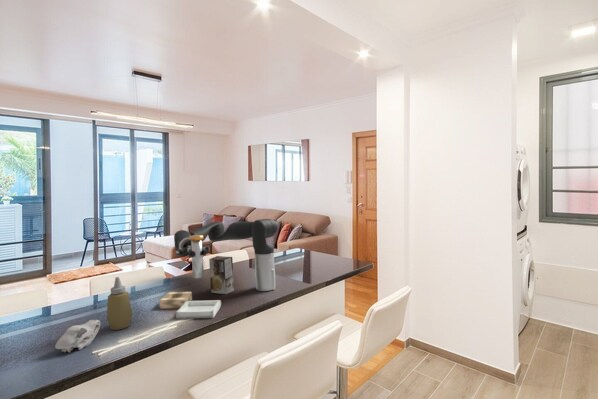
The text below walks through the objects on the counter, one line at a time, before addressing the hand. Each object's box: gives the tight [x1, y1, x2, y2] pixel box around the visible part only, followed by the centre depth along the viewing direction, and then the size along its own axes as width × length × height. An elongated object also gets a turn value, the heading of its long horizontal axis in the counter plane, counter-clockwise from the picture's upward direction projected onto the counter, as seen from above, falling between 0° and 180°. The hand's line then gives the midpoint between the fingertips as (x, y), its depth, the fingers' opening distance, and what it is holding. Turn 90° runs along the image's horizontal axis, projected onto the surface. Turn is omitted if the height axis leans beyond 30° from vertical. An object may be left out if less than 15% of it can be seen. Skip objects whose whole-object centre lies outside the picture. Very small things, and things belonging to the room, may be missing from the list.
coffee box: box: [208, 255, 235, 295], centre depth 155 cm, size 9×6×16 cm
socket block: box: [158, 291, 193, 309], centre depth 140 cm, size 10×10×4 cm
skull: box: [54, 319, 102, 353], centre depth 105 cm, size 8×9×12 cm
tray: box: [175, 299, 222, 320], centre depth 130 cm, size 14×12×2 cm
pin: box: [189, 235, 204, 279], centre depth 129 cm, size 5×5×16 cm
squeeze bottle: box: [106, 276, 133, 331], centre depth 118 cm, size 8×8×18 cm
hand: (198, 253), depth 127 cm, fingers closed on pin, 4 cm apart
